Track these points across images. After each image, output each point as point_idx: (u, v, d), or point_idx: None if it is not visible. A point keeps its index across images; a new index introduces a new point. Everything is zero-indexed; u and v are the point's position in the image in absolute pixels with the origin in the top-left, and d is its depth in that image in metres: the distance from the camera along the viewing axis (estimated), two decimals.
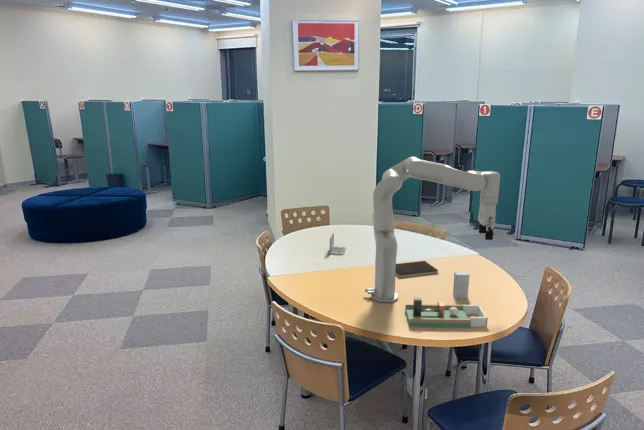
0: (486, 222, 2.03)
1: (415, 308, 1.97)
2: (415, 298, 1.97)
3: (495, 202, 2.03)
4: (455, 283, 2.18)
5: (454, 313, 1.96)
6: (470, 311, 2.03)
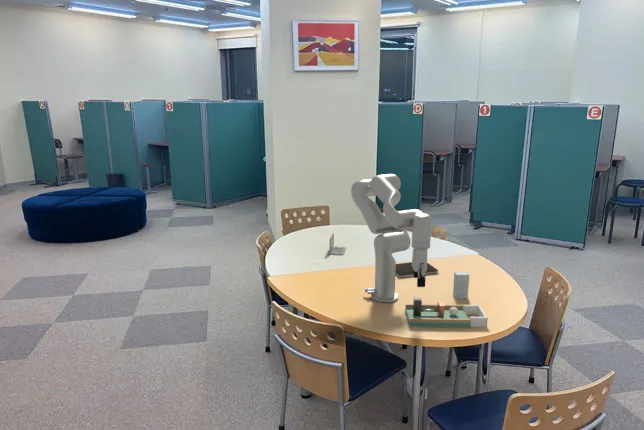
0: (417, 268, 1.88)
1: (415, 308, 1.97)
2: (415, 298, 1.97)
3: (426, 247, 1.88)
4: (455, 283, 2.18)
5: (454, 313, 1.96)
6: (470, 311, 2.03)
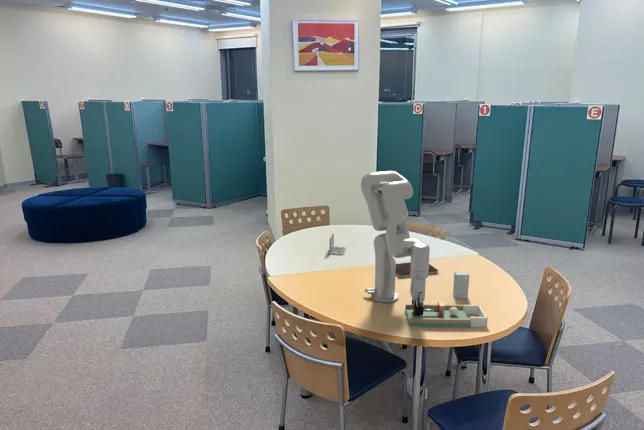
0: (415, 297, 1.91)
1: (415, 308, 1.97)
2: None
3: (425, 276, 1.91)
4: (455, 283, 2.18)
5: (454, 313, 1.96)
6: (470, 311, 2.03)
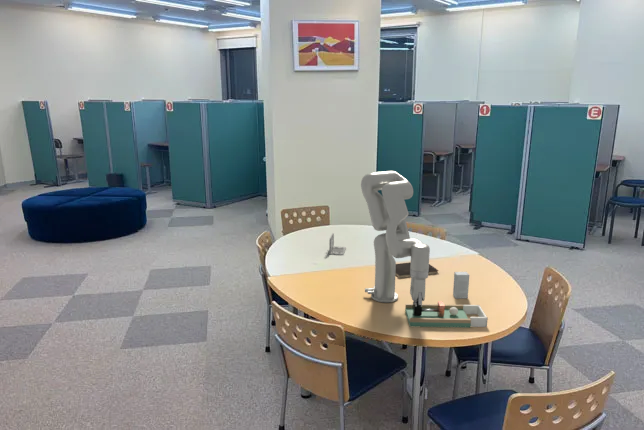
0: (415, 298, 1.92)
1: None
2: None
3: (425, 277, 1.91)
4: (455, 283, 2.18)
5: (454, 313, 1.96)
6: (470, 311, 2.03)
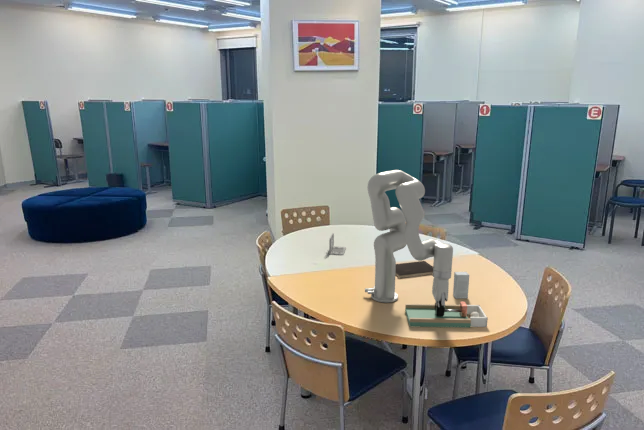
0: (438, 298, 1.91)
1: None
2: None
3: (448, 277, 1.91)
4: (455, 283, 2.18)
5: None
6: (470, 311, 2.03)
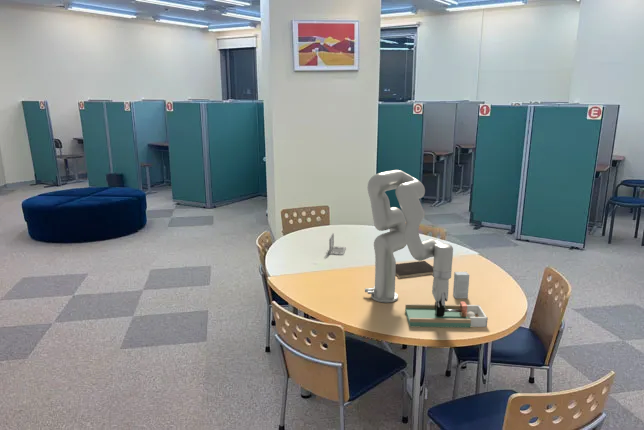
0: (438, 298, 1.91)
1: None
2: None
3: (448, 277, 1.91)
4: (455, 283, 2.18)
5: None
6: (470, 311, 2.03)
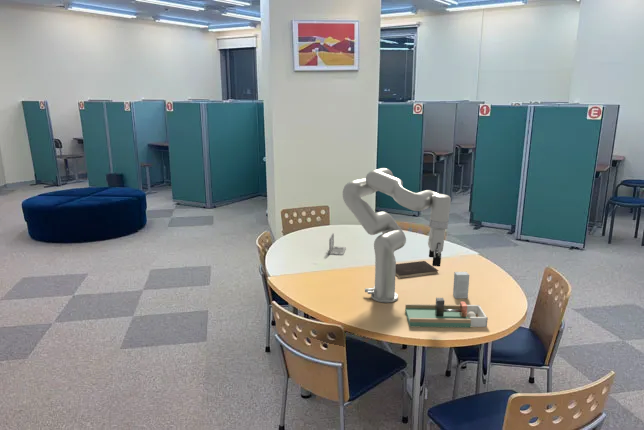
0: (434, 248, 1.92)
1: (437, 308, 1.96)
2: (437, 298, 1.97)
3: (444, 227, 1.91)
4: (455, 283, 2.18)
5: None
6: (470, 311, 2.03)
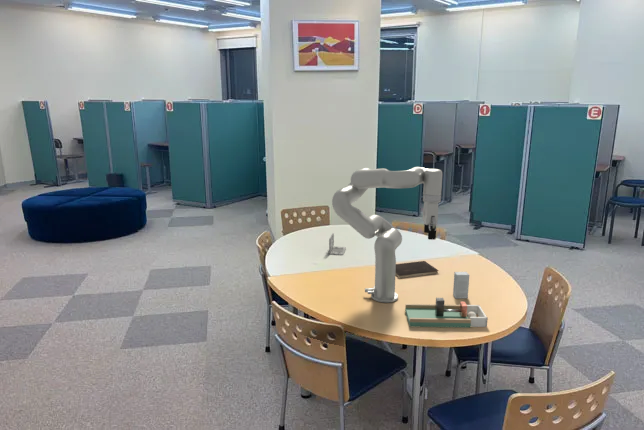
0: (428, 221, 1.96)
1: (437, 308, 1.96)
2: (437, 298, 1.97)
3: (437, 200, 1.96)
4: (455, 283, 2.18)
5: None
6: (470, 311, 2.03)
